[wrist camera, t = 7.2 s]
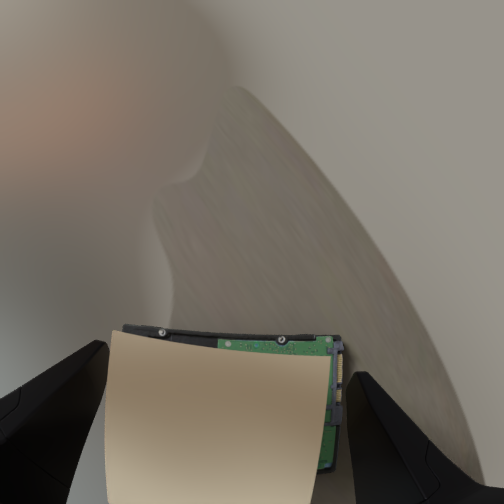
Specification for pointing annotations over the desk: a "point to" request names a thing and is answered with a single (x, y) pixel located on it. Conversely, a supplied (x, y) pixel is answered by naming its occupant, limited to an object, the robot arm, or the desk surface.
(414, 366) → the desk surface
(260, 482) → the maple block
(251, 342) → the disk drive
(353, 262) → the desk surface
